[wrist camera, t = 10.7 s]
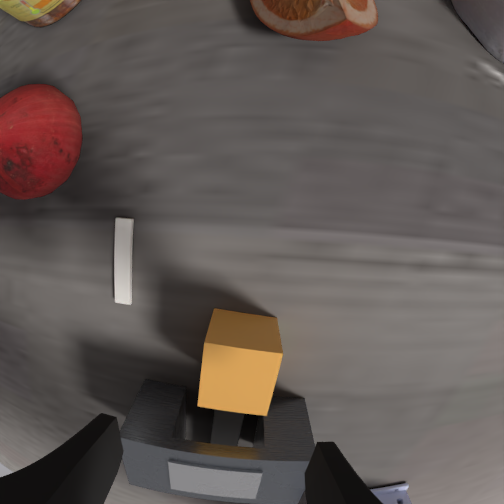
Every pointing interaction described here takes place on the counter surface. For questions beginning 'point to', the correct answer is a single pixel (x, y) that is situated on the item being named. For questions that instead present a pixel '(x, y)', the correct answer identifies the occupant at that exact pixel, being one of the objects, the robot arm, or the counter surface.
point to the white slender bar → (123, 260)
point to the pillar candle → (484, 22)
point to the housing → (216, 451)
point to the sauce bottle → (38, 10)
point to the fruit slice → (317, 17)
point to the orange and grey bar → (238, 370)
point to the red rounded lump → (37, 140)
